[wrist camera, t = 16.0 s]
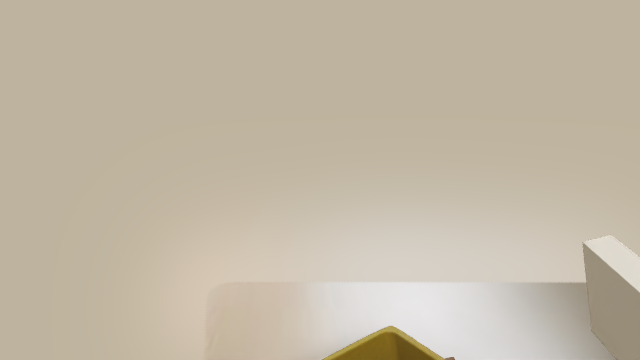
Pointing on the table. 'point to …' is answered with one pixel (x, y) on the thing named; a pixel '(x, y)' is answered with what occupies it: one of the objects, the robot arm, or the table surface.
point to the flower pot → (385, 348)
